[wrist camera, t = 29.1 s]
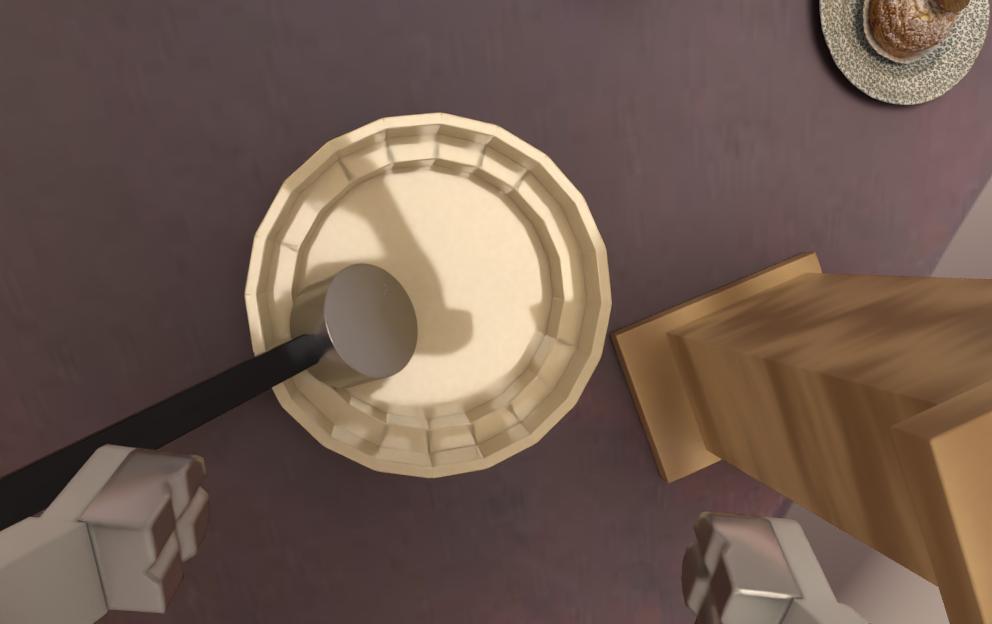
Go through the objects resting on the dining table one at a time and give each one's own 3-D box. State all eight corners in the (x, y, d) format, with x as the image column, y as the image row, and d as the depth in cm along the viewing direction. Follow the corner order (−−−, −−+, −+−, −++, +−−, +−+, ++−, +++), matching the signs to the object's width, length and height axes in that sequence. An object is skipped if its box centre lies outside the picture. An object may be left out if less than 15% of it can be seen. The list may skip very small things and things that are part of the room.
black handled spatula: (353, 265, 38) (388, 249, 37) (397, 361, 39) (433, 350, 37) (-134, 463, 21) (-116, 451, 19) (-41, 627, 22) (-14, 631, 20)
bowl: (241, 421, 39) (216, 450, 33) (296, 103, 38) (281, 74, 32) (546, 464, 42) (573, 498, 36) (603, 172, 41) (641, 158, 35)
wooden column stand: (661, 478, 43) (1028, 766, 19) (608, 333, 42) (930, 440, 17) (848, 393, 45) (1408, 555, 21) (804, 252, 44) (1345, 244, 19)
